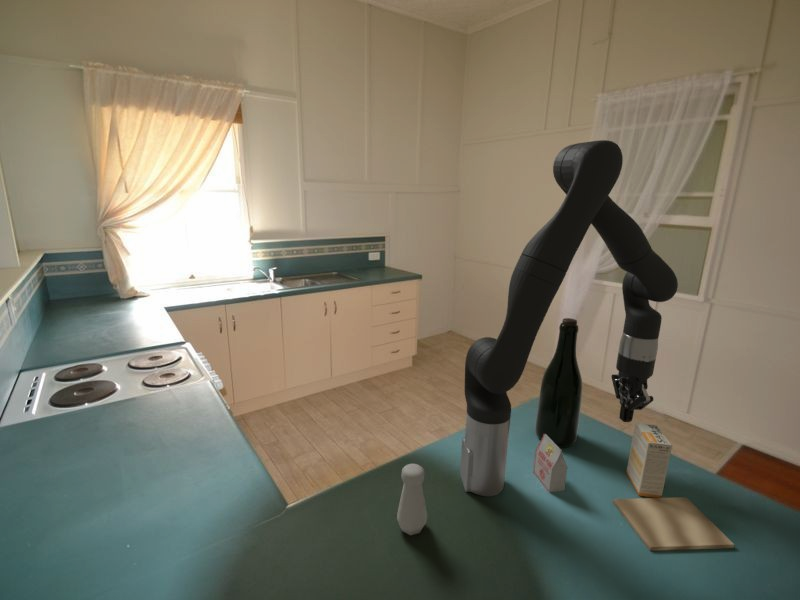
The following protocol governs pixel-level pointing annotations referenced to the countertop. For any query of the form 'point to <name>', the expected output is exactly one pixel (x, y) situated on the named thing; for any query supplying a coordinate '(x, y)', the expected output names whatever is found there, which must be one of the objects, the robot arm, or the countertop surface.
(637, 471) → the supplement box
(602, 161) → the robot arm
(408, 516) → the salt shaker
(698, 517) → the tan wooden board
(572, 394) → the dark green wine bottle
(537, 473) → the white printed carton box
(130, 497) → the countertop surface
